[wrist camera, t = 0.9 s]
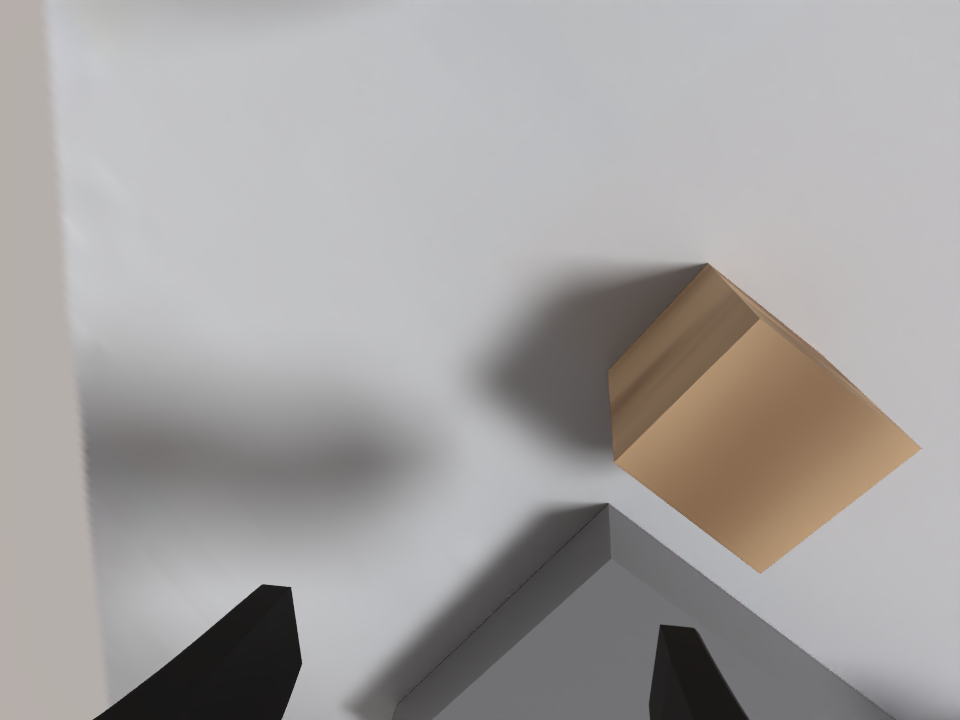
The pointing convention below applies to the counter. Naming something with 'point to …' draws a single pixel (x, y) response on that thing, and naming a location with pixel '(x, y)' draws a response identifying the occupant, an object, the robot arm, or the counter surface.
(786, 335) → the oak block
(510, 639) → the slate base
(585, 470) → the counter surface
